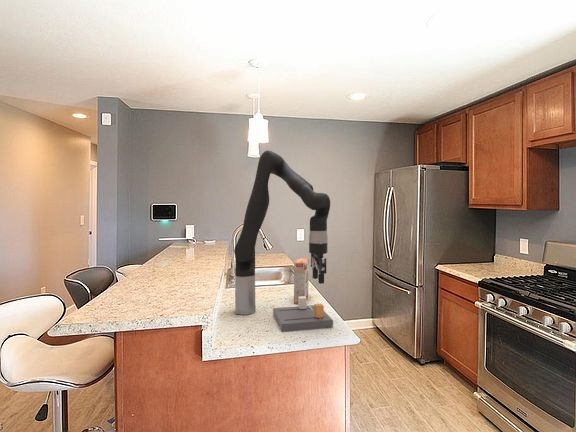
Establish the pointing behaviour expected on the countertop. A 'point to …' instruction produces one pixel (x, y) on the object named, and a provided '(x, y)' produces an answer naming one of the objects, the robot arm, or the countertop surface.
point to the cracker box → (301, 278)
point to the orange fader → (318, 310)
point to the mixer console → (300, 319)
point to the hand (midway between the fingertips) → (318, 280)
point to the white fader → (302, 302)
